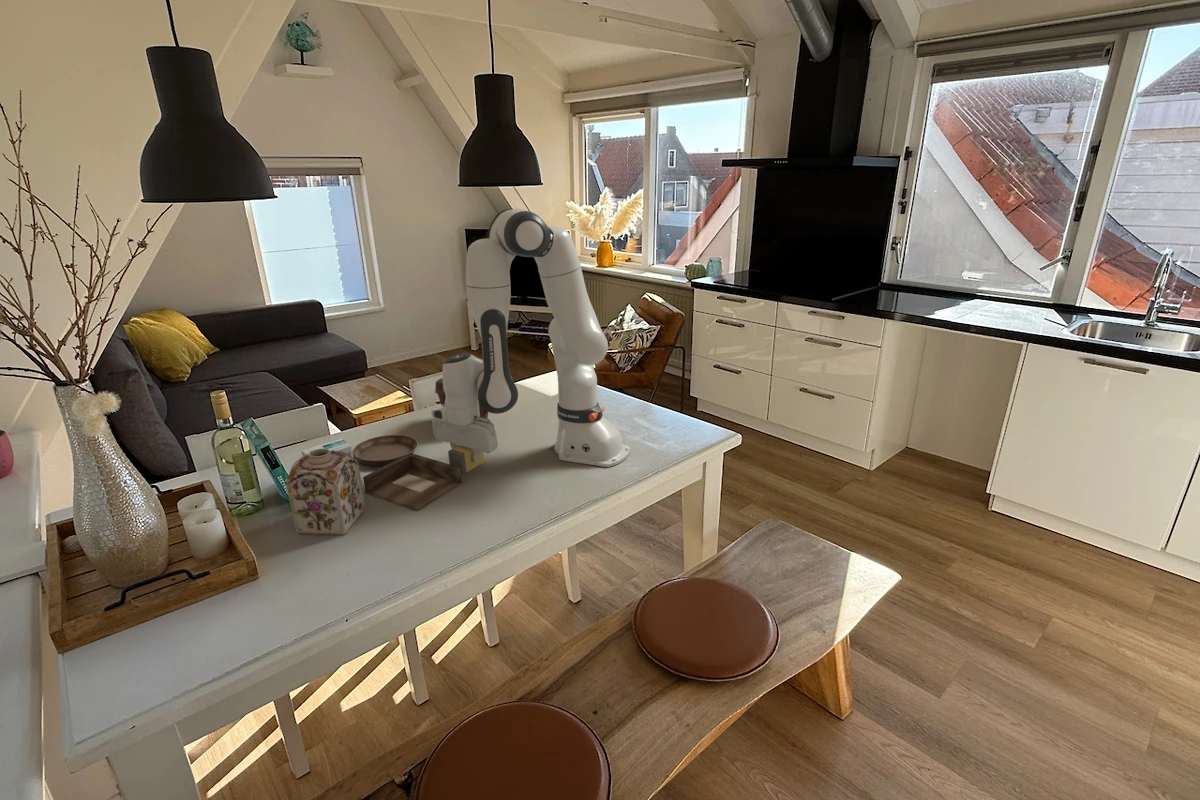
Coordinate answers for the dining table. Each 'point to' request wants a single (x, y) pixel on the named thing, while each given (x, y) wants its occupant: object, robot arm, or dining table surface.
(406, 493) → the corner arena
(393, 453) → the plant saucer
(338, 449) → the light bulb box
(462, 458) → the ochre block
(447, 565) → the dining table surface
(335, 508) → the decorative jar
